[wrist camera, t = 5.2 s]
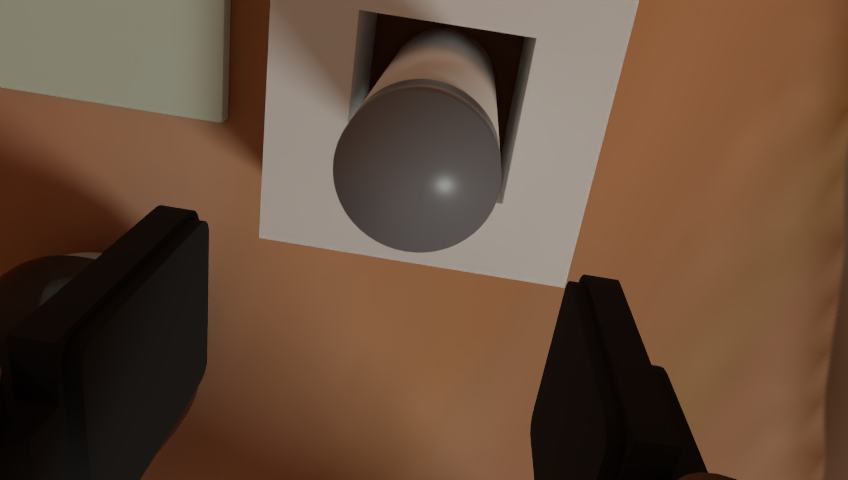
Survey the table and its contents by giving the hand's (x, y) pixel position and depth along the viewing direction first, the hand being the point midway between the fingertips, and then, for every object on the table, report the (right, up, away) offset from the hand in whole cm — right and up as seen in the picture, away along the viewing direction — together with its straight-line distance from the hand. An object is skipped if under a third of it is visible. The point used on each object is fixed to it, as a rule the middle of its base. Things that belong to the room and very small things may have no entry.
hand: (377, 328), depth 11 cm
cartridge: (+2, +8, +18) cm, 20 cm away
